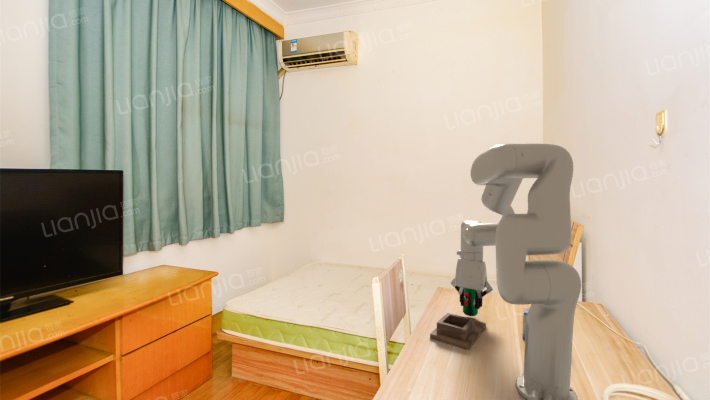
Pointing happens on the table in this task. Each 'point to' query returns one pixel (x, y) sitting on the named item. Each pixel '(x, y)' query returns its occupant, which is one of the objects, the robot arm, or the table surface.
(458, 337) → the can stand
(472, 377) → the table surface
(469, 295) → the soda can
